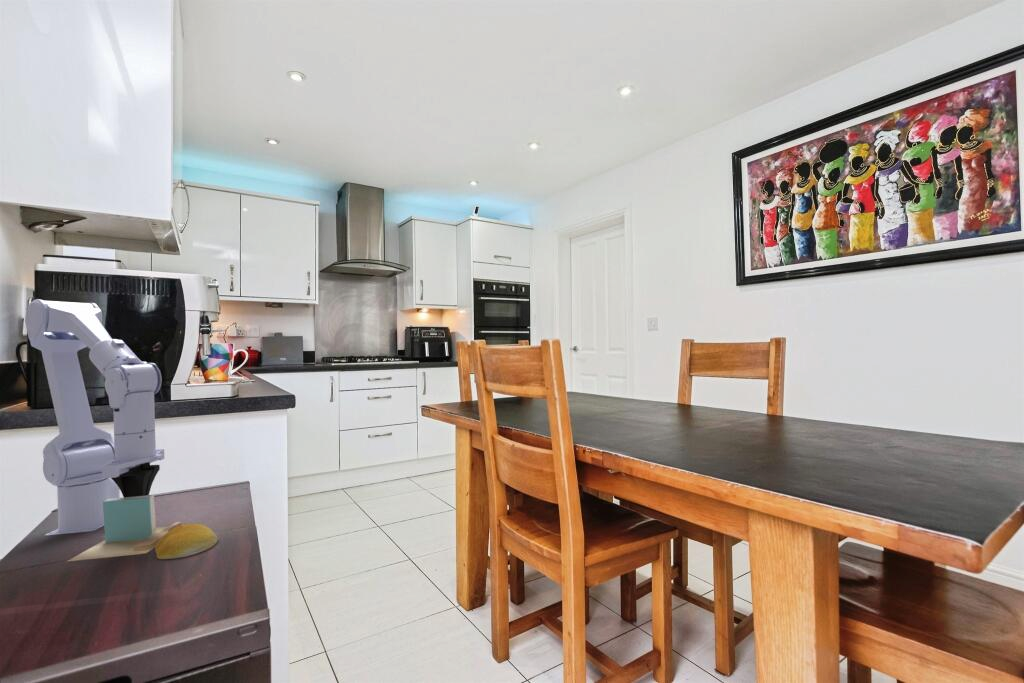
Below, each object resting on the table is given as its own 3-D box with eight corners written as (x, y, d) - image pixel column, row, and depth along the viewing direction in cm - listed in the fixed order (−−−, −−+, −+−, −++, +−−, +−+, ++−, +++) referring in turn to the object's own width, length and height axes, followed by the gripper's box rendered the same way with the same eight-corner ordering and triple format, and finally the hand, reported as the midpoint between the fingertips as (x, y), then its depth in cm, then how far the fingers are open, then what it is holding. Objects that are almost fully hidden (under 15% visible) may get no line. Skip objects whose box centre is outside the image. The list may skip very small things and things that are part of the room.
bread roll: (159, 569, 71) (158, 542, 71) (153, 552, 78) (153, 527, 78) (222, 552, 77) (222, 526, 77) (212, 537, 83) (212, 514, 83)
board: (120, 534, 86) (120, 531, 86) (187, 528, 88) (187, 524, 88) (66, 565, 74) (66, 561, 74) (146, 556, 75) (146, 553, 75)
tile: (111, 538, 82) (108, 498, 82) (156, 534, 84) (153, 494, 83) (105, 542, 81) (102, 501, 81) (151, 538, 82) (148, 497, 82)
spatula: (170, 527, 87) (170, 522, 87) (185, 525, 88) (185, 521, 88) (133, 551, 76) (133, 546, 76) (151, 549, 77) (151, 544, 77)
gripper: (135, 437, 78) (137, 520, 78) (180, 424, 92) (183, 495, 92) (86, 440, 77) (88, 525, 76) (140, 427, 91) (142, 499, 91)
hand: (137, 509), depth 84 cm, fingers closed
